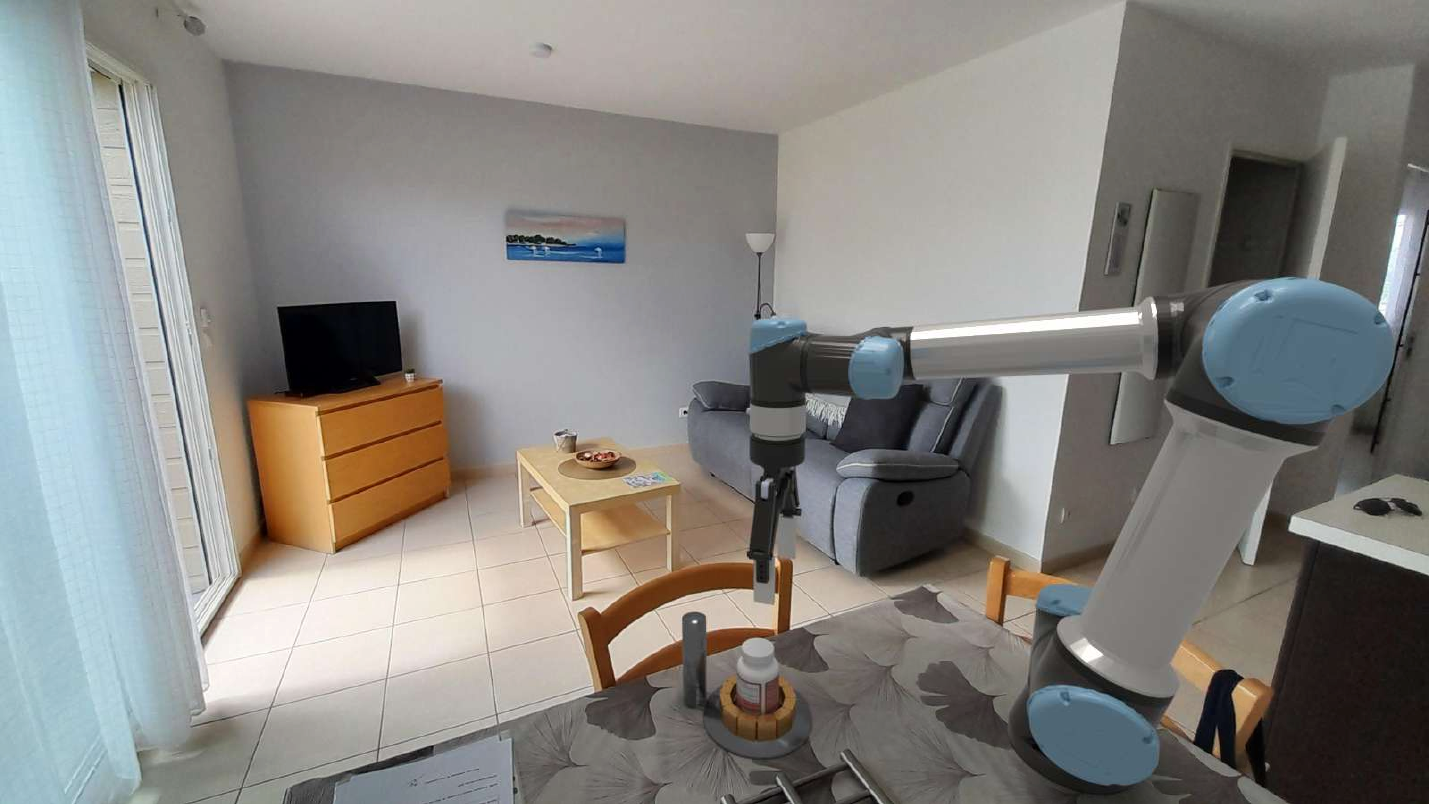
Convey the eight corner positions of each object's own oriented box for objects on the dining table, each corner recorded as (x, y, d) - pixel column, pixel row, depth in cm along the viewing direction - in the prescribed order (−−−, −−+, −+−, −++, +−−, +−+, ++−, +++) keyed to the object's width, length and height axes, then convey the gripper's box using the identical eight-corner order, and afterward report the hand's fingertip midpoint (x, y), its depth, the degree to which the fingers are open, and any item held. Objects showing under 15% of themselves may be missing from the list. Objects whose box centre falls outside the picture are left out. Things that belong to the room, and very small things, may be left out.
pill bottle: (771, 696, 91) (772, 631, 89) (784, 725, 85) (785, 656, 83) (731, 702, 90) (732, 637, 88) (742, 732, 84) (743, 662, 82)
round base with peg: (821, 694, 92) (824, 613, 90) (798, 773, 78) (801, 679, 75) (703, 666, 99) (702, 590, 96) (662, 733, 85) (660, 646, 82)
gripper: (772, 412, 93) (771, 539, 97) (721, 456, 70) (723, 619, 74) (820, 415, 91) (817, 545, 95) (784, 462, 67) (782, 630, 72)
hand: (776, 578), depth 84 cm, fingers open, 13 cm apart
